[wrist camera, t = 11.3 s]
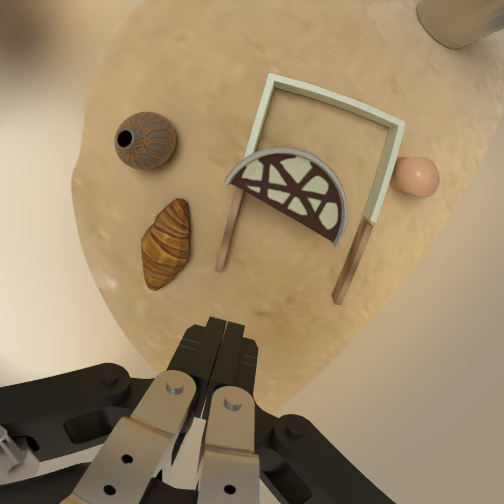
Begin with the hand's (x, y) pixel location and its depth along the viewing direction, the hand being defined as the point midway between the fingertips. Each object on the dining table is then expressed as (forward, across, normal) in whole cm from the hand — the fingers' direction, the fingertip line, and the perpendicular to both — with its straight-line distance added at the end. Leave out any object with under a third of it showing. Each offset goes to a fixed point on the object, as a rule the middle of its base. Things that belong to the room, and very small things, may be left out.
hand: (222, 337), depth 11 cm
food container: (+25, -3, -6) cm, 26 cm away
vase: (+25, +15, -6) cm, 29 cm away
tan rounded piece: (+25, -16, -11) cm, 31 cm away
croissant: (+25, +11, +7) cm, 28 cm away
